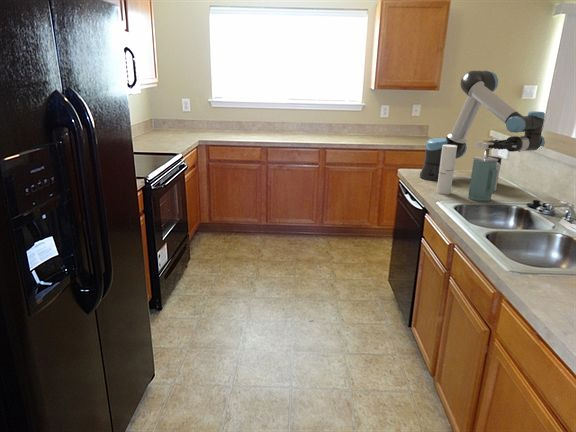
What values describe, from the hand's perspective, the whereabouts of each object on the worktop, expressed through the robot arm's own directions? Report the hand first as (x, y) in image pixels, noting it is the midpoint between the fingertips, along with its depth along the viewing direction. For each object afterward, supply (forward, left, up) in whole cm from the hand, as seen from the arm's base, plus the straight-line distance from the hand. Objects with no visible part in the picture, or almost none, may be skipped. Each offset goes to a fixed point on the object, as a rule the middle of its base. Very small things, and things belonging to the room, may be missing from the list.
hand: (479, 145), depth 211 cm
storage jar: (-26, +35, -28) cm, 52 cm away
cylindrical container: (-16, -4, -28) cm, 32 cm away
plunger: (0, +5, -23) cm, 24 cm away
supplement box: (-16, +24, -28) cm, 40 cm away
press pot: (+1, +5, -27) cm, 28 cm away
